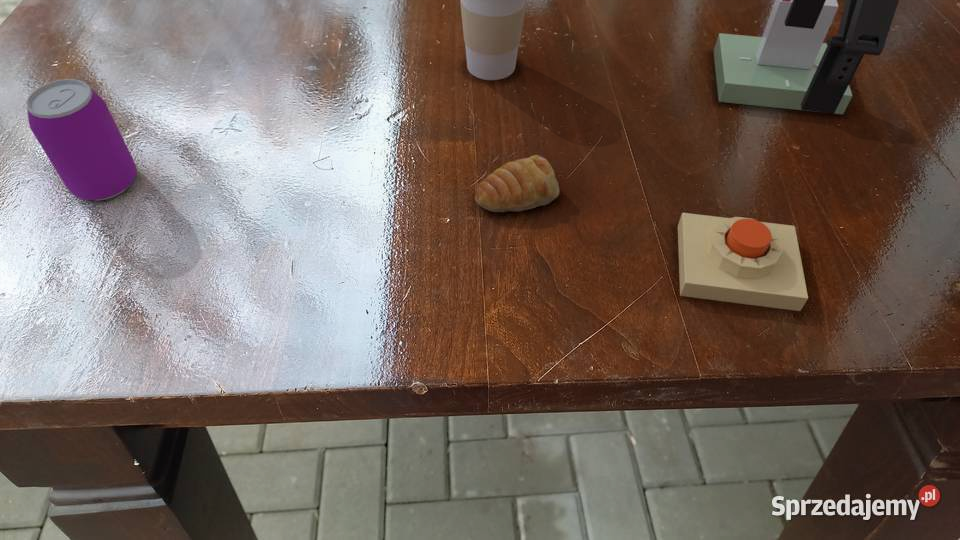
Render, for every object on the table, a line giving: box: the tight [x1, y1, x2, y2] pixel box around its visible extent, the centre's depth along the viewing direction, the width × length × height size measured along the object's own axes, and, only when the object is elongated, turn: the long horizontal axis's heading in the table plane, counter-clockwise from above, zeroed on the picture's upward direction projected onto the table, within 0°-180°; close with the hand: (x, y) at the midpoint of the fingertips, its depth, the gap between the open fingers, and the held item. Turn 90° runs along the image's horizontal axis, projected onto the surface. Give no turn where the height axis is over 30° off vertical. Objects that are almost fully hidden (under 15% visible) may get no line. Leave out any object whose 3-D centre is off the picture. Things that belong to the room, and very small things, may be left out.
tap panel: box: [713, 32, 853, 115], centre depth 94 cm, size 16×12×3 cm
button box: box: [677, 212, 809, 312], centre depth 72 cm, size 12×10×4 cm
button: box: [727, 218, 772, 259], centre depth 70 cm, size 4×4×2 cm
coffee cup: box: [459, 0, 528, 81], centre depth 91 cm, size 9×9×15 cm
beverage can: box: [25, 78, 138, 202], centre depth 76 cm, size 8×8×12 cm
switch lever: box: [756, 0, 839, 70], centre depth 89 cm, size 7×2×9 cm, turn 81°
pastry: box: [474, 154, 560, 213], centre depth 79 cm, size 9×7×4 cm
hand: (807, 64), depth 64 cm, fingers open, 13 cm apart
